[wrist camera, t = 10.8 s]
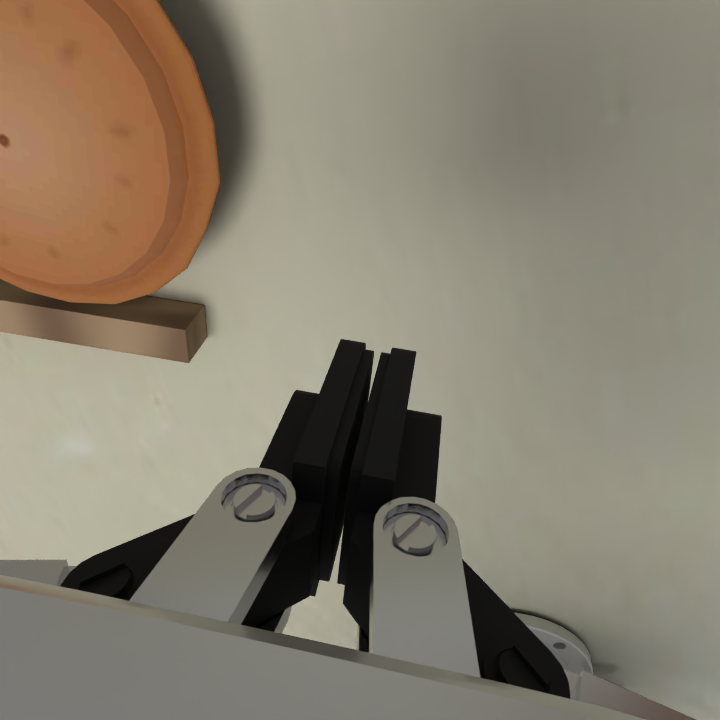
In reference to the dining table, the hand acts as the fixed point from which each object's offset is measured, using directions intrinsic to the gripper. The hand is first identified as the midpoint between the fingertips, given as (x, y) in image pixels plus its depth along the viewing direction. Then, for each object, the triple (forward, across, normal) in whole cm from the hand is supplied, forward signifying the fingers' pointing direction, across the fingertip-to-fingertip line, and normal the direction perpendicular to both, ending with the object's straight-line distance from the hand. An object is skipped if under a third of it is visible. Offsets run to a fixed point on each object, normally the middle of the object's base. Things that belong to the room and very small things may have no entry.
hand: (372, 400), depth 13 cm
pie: (+15, +16, -2) cm, 22 cm away
